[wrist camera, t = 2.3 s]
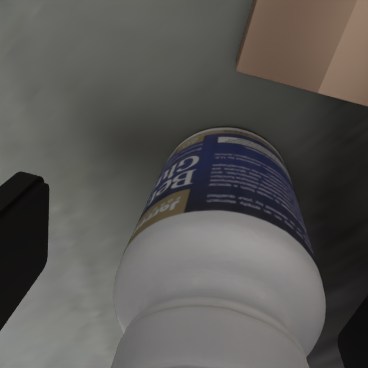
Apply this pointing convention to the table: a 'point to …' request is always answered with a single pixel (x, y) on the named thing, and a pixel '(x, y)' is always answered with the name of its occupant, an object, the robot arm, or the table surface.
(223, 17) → the table surface
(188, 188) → the pill bottle
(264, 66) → the pin board
